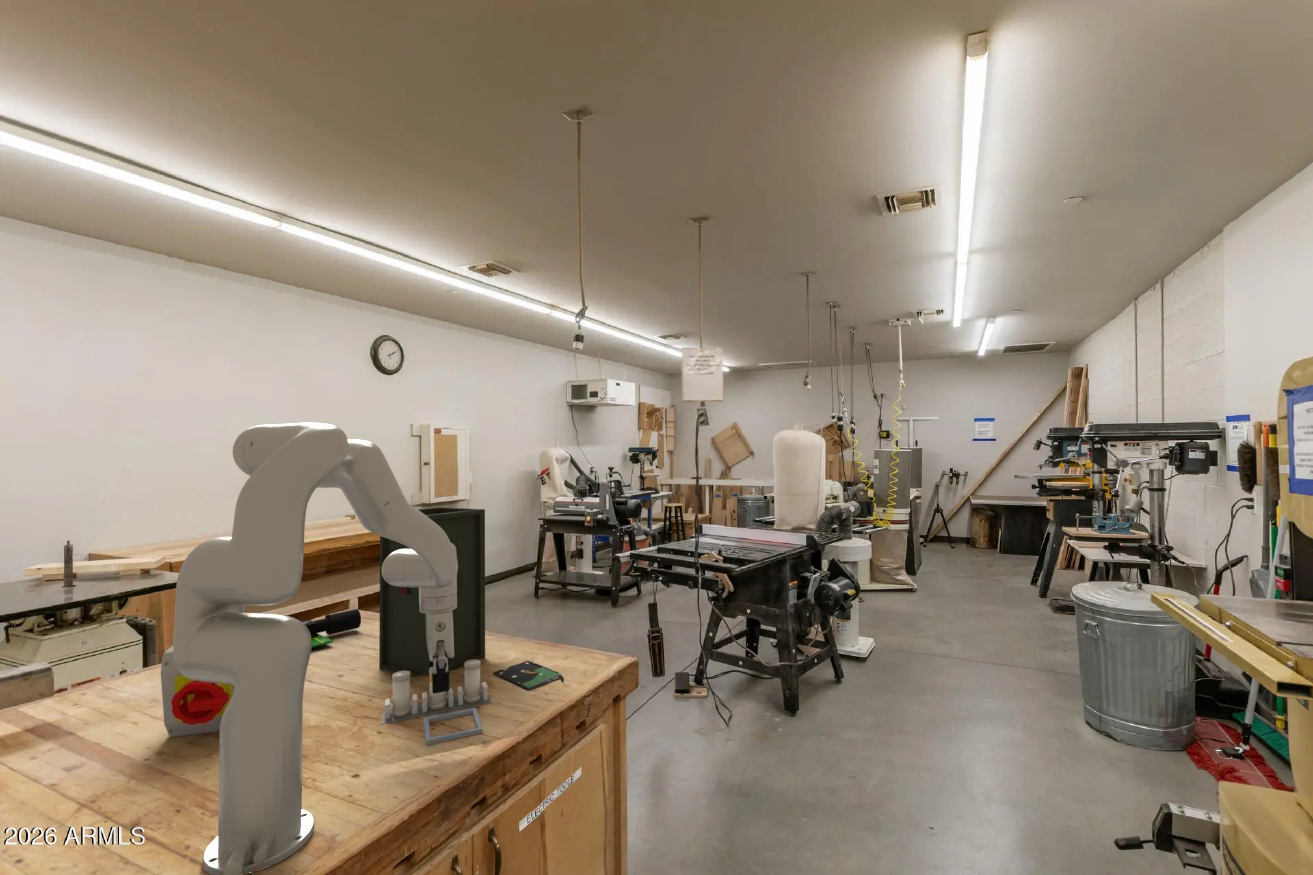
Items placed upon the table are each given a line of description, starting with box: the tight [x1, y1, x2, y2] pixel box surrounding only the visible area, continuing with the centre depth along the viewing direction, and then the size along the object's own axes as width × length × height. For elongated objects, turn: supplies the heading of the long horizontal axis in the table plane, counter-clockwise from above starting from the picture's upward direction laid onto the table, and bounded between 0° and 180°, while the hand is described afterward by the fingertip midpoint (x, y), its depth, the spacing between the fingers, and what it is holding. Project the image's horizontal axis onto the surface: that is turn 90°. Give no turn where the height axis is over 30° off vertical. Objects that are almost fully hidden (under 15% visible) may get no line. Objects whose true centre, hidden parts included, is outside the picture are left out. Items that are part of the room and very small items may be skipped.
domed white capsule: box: [391, 671, 411, 717], centre depth 114 cm, size 3×3×8 cm
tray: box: [423, 707, 484, 746], centre depth 108 cm, size 10×10×2 cm
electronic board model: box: [300, 608, 362, 649], centre depth 162 cm, size 30×7×15 cm
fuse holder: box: [381, 681, 492, 725], centre depth 117 cm, size 7×21×4 cm, turn 115°
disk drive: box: [493, 660, 565, 692], centre depth 133 cm, size 10×3×15 cm
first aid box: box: [378, 506, 486, 679], centre depth 147 cm, size 18×18×40 cm
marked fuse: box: [428, 667, 447, 710], centre depth 117 cm, size 3×3×8 cm
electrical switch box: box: [160, 645, 234, 738], centre depth 111 cm, size 15×15×20 cm
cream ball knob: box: [463, 660, 482, 703], centre depth 120 cm, size 3×3×8 cm
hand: (439, 682), depth 118 cm, fingers open, 9 cm apart
